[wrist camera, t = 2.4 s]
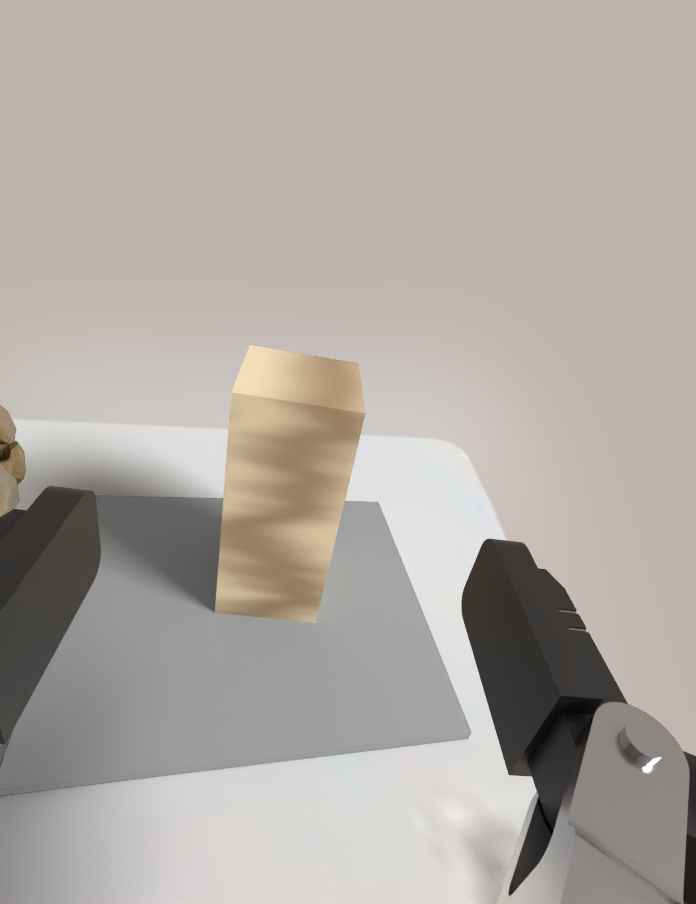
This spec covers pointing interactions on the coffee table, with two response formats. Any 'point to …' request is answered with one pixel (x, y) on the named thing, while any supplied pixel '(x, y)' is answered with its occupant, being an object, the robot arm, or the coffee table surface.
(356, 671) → the slate mat
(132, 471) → the coffee table surface
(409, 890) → the coffee table surface
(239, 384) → the birch block
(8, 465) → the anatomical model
